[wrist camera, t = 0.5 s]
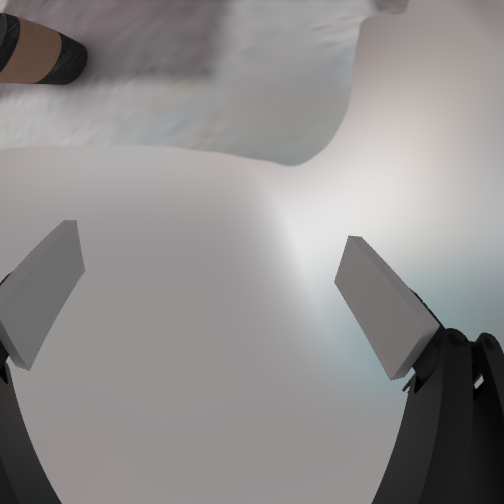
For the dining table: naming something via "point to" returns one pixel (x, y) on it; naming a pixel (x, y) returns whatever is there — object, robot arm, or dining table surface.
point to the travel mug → (37, 53)
